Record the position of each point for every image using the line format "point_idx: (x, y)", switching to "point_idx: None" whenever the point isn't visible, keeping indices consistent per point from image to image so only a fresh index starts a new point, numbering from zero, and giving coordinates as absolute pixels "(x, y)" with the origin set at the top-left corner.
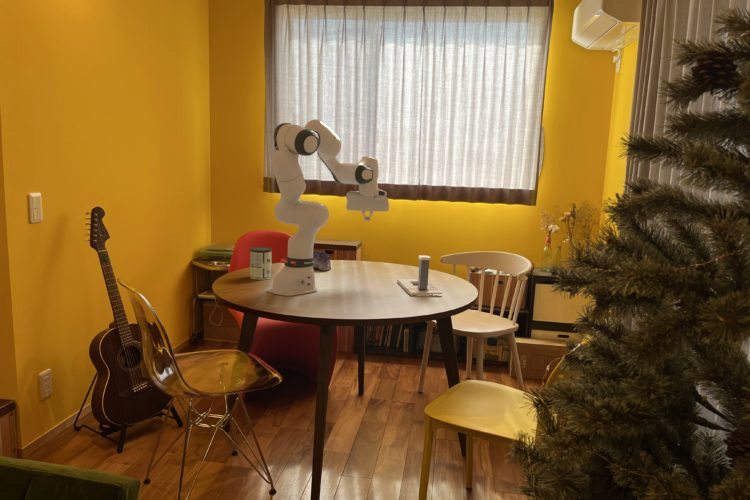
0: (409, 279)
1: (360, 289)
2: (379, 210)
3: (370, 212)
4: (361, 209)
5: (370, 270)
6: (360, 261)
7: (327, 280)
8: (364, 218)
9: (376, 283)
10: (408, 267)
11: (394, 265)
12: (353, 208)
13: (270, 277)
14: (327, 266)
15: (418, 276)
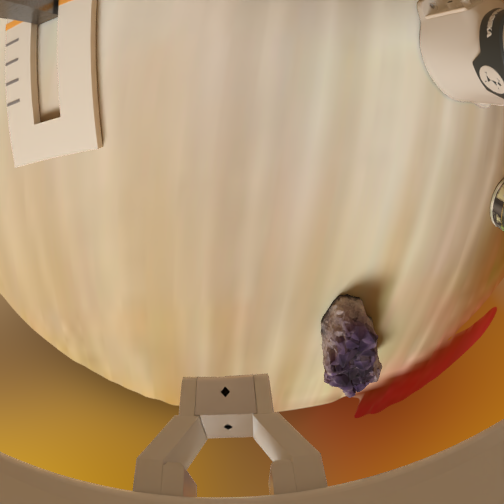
0: (57, 151)
1: (266, 9)
2: (28, 475)
3: (177, 476)
4: (366, 498)
5: (191, 324)
6: None
7: (369, 158)
8: (270, 391)
9: (184, 112)
10: (87, 359)
11: (125, 378)
12: (489, 456)
13: (496, 191)
14: (342, 307)
15: (32, 7)
